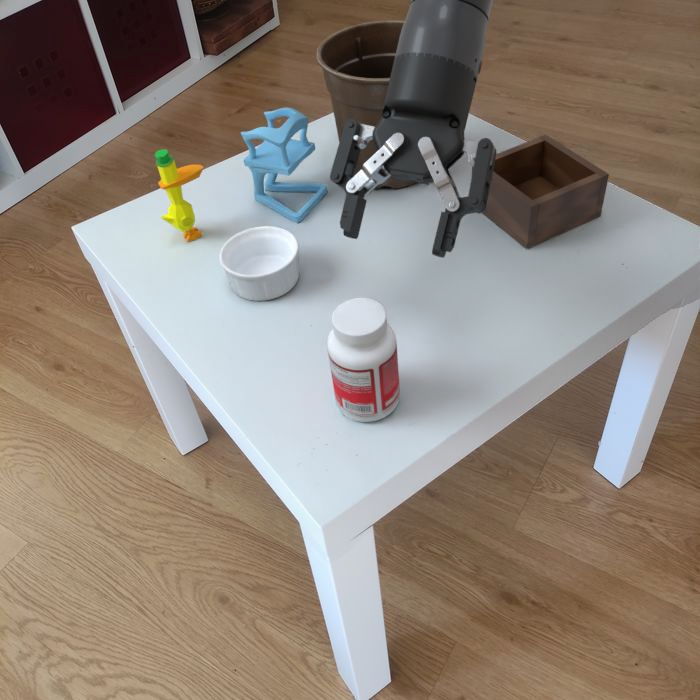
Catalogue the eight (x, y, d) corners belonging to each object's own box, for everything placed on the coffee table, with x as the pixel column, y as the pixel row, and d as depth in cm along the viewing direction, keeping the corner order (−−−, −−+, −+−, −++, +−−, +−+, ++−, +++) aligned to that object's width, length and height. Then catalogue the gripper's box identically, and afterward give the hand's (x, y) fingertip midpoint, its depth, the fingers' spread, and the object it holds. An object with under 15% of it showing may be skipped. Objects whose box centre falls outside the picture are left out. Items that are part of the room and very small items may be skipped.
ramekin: (287, 310, 79) (281, 280, 76) (214, 299, 81) (205, 270, 78) (314, 260, 85) (309, 230, 81) (244, 251, 87) (237, 221, 84)
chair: (276, 178, 98) (261, 94, 89) (329, 190, 94) (319, 104, 86) (244, 209, 93) (225, 124, 84) (299, 223, 90) (285, 136, 81)
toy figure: (211, 218, 92) (188, 133, 84) (224, 230, 90) (202, 144, 82) (163, 239, 90) (135, 154, 81) (176, 253, 88) (147, 167, 79)
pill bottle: (385, 367, 72) (379, 283, 64) (410, 411, 68) (406, 327, 60) (327, 387, 71) (313, 304, 63) (348, 433, 66) (336, 350, 59)
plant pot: (474, 156, 97) (480, 36, 86) (401, 215, 89) (396, 91, 78) (380, 124, 105) (374, 10, 94) (305, 175, 97) (288, 58, 86)
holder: (540, 175, 93) (545, 134, 89) (600, 216, 86) (609, 174, 82) (470, 204, 90) (472, 163, 85) (526, 249, 83) (531, 207, 78)
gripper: (348, 41, 62) (306, 225, 64) (509, 58, 58) (460, 256, 59) (375, 73, 70) (337, 238, 71) (521, 90, 65) (477, 267, 66)
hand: (393, 246), depth 65 cm, fingers open, 8 cm apart
